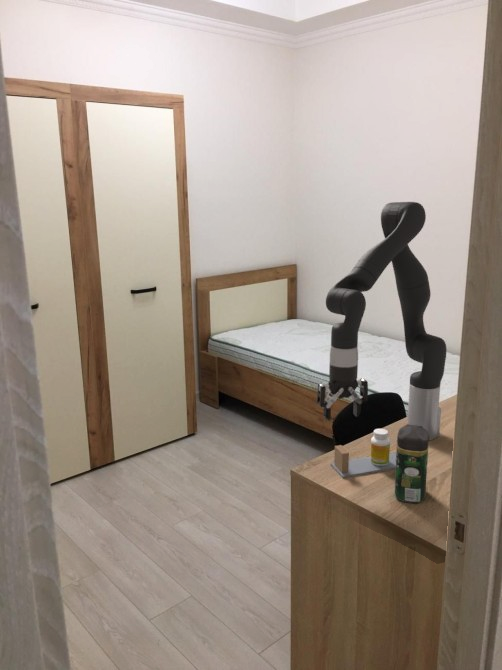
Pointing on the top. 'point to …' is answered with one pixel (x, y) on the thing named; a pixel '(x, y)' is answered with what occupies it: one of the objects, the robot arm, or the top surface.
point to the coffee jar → (411, 463)
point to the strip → (358, 464)
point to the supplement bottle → (380, 448)
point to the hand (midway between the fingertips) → (341, 417)
